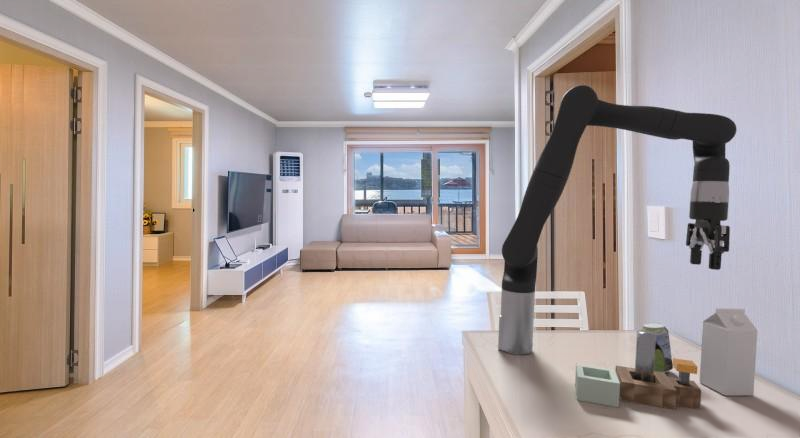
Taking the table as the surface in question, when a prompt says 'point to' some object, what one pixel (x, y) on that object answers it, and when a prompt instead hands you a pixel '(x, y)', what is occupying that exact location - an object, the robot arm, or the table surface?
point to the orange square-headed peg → (684, 370)
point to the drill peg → (645, 356)
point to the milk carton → (728, 352)
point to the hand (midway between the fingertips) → (704, 266)
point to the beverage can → (660, 347)
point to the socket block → (657, 390)
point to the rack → (597, 385)
